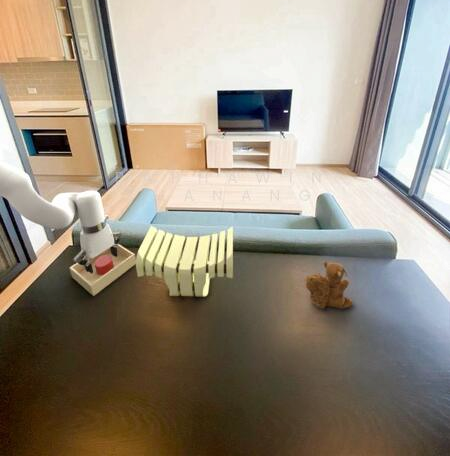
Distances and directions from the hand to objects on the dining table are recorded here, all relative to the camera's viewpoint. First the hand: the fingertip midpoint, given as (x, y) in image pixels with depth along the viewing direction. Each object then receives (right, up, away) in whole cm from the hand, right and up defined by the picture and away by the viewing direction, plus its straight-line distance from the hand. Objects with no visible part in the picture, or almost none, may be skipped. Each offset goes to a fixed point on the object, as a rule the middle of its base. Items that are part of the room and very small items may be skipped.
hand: (102, 263), depth 92 cm
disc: (0, -3, +1) cm, 3 cm away
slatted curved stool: (+34, -5, -4) cm, 34 cm away
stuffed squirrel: (+79, -7, -11) cm, 80 cm away
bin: (0, -3, +1) cm, 4 cm away
